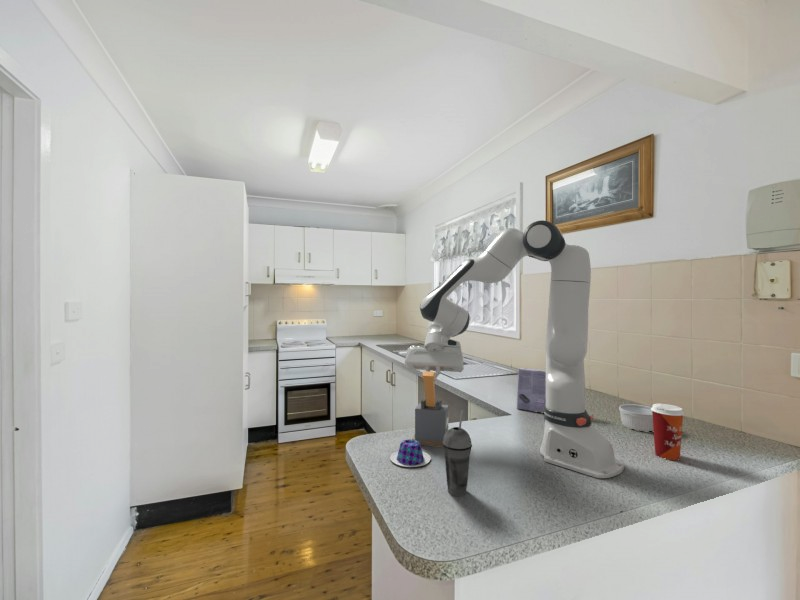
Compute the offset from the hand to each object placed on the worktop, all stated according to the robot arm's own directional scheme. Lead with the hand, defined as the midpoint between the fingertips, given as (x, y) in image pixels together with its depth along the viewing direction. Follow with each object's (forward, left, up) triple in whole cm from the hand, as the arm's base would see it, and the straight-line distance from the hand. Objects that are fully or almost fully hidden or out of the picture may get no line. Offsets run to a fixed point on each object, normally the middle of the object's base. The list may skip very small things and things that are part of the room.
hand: (431, 379), depth 120 cm
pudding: (-7, +13, -21) cm, 26 cm away
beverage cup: (-28, +14, -21) cm, 38 cm away
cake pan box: (-1, -60, -21) cm, 63 cm away
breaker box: (0, -1, -21) cm, 21 cm away
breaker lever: (-1, +1, -8) cm, 8 cm away
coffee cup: (-49, -53, -21) cm, 75 cm away
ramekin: (-33, -74, -21) cm, 83 cm away
